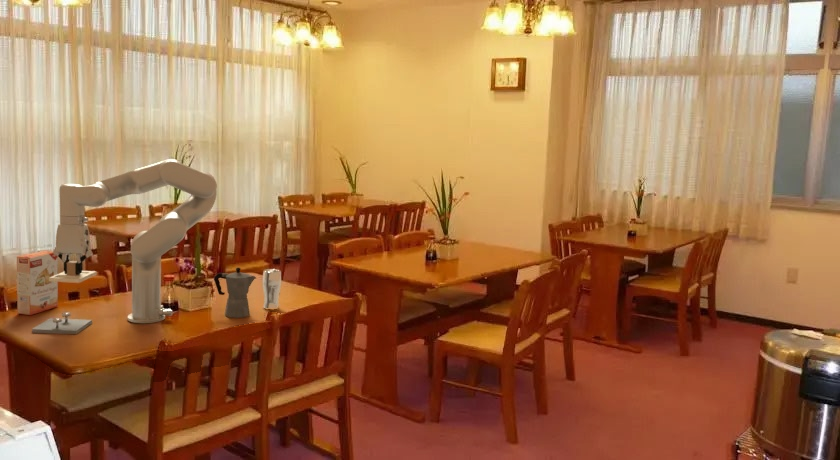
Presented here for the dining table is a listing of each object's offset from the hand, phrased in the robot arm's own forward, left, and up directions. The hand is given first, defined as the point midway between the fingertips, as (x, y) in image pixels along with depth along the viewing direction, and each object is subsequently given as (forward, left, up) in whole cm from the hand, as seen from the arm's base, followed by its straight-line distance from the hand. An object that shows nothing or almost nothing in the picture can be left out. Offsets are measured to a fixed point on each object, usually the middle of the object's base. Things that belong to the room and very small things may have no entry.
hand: (73, 273), depth 243 cm
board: (0, +8, -17) cm, 19 cm away
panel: (0, 0, -2) cm, 2 cm away
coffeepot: (-52, -16, -17) cm, 57 cm away
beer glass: (-64, -27, -17) cm, 71 cm away
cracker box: (+17, -12, -17) cm, 27 cm away
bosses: (+1, +8, -16) cm, 18 cm away
